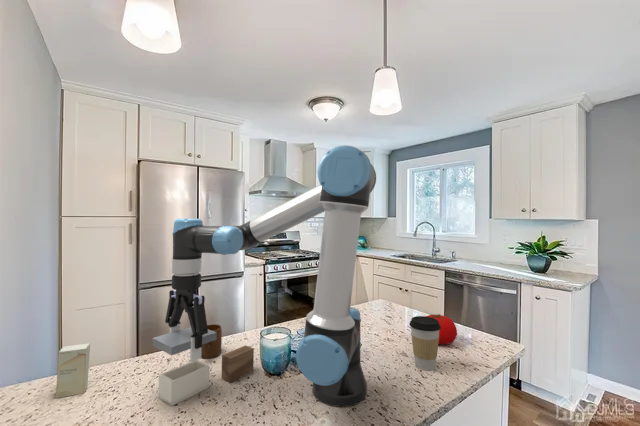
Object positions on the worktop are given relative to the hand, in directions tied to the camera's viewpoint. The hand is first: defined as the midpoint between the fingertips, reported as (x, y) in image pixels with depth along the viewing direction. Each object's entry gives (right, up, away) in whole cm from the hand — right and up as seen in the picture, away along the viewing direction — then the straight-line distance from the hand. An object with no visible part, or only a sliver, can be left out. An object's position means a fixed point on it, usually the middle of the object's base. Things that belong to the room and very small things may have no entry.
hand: (184, 354), depth 83 cm
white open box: (0, -10, 0) cm, 10 cm away
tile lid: (0, +3, 0) cm, 3 cm away
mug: (-1, -11, +22) cm, 24 cm away
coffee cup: (+72, -11, +16) cm, 75 cm away
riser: (+12, -11, +9) cm, 19 cm away
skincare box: (-31, -10, 0) cm, 32 cm away
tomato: (+84, -12, +36) cm, 93 cm away
